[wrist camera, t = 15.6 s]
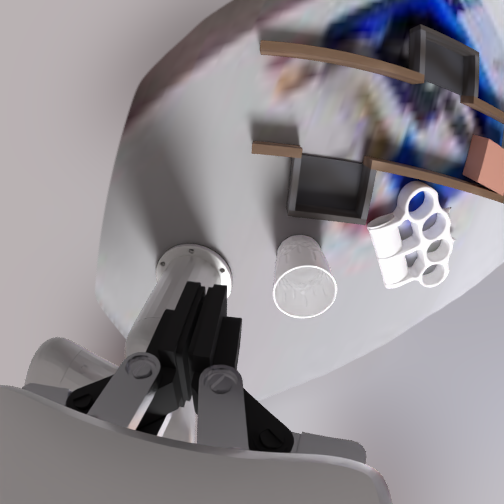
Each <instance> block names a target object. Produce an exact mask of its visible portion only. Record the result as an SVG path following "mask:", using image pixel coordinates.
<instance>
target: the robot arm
mask: <svg viewBox="0 0 504 504" xmlns="http://www.w3.org/2000/svg"><path fill="white" fill-rule="evenodd" d="M192 249H193V250H192ZM223 268H224V269H223ZM156 281H157V284H156V286H155V288H154V289H153V291H152V293H151V295H150V296H149V298H148V300H147V302H146V303H145V305H144V307H143V309H142V310H141V312H140V314H139V316H138V317H137V319H136V321H135V323H134V325H133V327H132V329H131V330H130V332H129V334H128V337H127V340H126V344H125V360H124V361H123V362H122V364H121V365H120V366H117V365H115V364H113V363H111V362H109V361H107V360H106V359H104V358H102V357H100V356H98V355H96V354H95V353H93V352H91V351H89V350H88V349H86V348H84V347H82V346H80V345H79V344H77V343H75V342H73V341H71V340H68V339H65V338H60V337H55V338H51V339H49V340H47V341H46V342H44V343H43V344H42V345H41V346H40V348H39V349H38V350H37V351H36V353H35V355H34V357H33V359H32V361H31V364H30V366H29V369H28V372H27V377H26V380H25V386H24V387H22V389H21V388H18V387H13V386H5V385H0V504H392V499H391V495H390V492H389V489H388V486H387V484H386V482H385V480H384V478H383V476H382V475H381V474H380V473H379V472H378V471H377V470H375V469H374V468H372V467H370V466H368V465H365V463H366V451H365V449H364V448H363V446H362V445H360V444H359V443H358V442H354V441H352V440H344V439H338V438H331V437H325V436H320V435H315V434H310V433H305V432H302V433H301V434H299V433H294V432H291V431H290V430H289V429H288V428H287V427H286V426H285V425H284V424H283V423H281V422H280V421H279V420H278V419H277V418H276V417H274V416H273V415H272V414H271V413H270V412H269V411H268V410H267V409H265V408H264V407H263V406H262V405H261V404H260V403H259V402H258V401H257V400H256V399H254V398H253V397H252V396H251V395H250V394H249V393H248V392H247V391H246V390H245V389H244V388H243V381H242V377H241V375H240V373H239V372H238V371H237V363H238V355H239V348H240V338H241V326H242V318H235V317H227V299H228V298H229V296H230V293H231V290H232V281H233V280H232V274H231V271H230V269H229V267H228V265H227V264H226V262H225V261H224V260H223V259H222V258H221V256H220V255H218V254H217V253H216V252H214V251H213V250H211V249H209V248H207V247H204V246H201V245H197V244H181V245H177V246H175V247H173V248H170V249H169V250H168V251H167V252H165V253H164V255H163V256H162V257H161V259H160V260H159V262H158V265H157V267H156ZM196 414H197V415H198V424H197V444H195V443H194V440H195V420H196V418H195V417H196Z"/></svg>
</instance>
